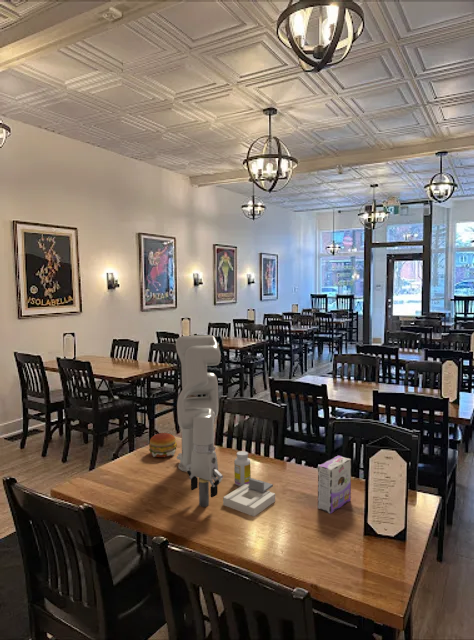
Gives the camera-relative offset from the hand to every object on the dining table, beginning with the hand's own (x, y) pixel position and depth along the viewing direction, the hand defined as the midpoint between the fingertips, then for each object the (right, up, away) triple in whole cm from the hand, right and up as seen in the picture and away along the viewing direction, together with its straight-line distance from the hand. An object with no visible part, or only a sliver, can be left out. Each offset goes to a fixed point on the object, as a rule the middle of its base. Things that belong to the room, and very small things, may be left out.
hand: (204, 492), depth 164 cm
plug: (0, -5, +1) cm, 5 cm away
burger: (-24, -1, +51) cm, 56 cm away
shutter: (+21, -1, +7) cm, 23 cm away
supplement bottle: (+15, -4, +18) cm, 24 cm away
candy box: (+48, -5, 0) cm, 49 cm away
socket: (+17, -5, +2) cm, 18 cm away
